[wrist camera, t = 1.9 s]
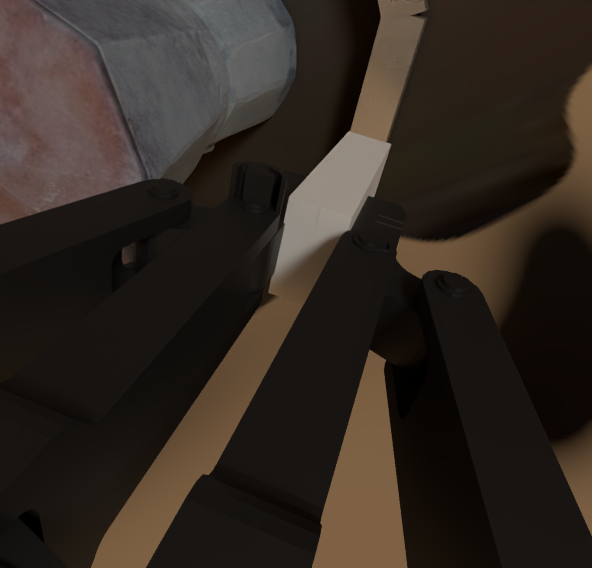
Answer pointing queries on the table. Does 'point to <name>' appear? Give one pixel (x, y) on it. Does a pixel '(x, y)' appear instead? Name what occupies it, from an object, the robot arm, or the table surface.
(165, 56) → the moka pot
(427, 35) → the table surface
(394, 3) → the indicator ring
